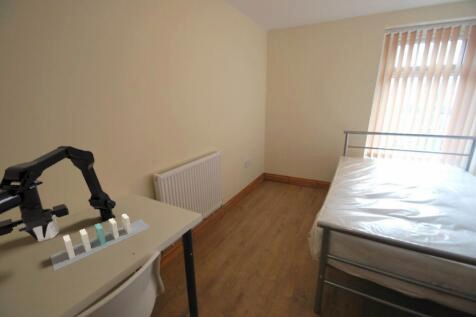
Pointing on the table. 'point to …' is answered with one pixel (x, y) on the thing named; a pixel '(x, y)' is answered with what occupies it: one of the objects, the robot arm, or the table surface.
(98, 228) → the domino
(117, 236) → the domino
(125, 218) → the domino
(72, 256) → the domino
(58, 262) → the runner mat
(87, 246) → the domino
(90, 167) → the robot arm
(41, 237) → the jar
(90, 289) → the table surface
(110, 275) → the table surface
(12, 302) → the table surface
